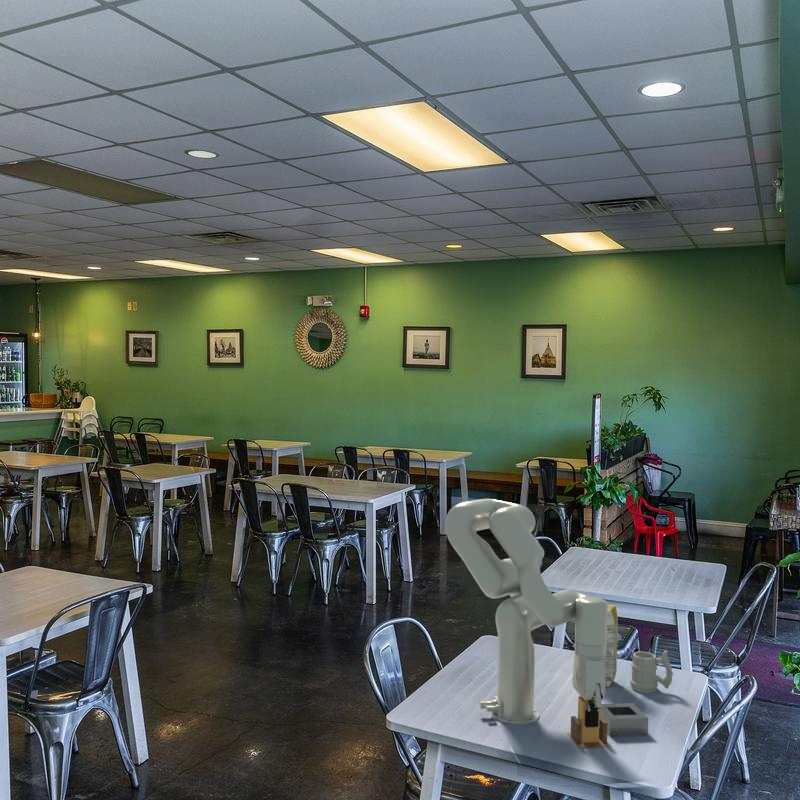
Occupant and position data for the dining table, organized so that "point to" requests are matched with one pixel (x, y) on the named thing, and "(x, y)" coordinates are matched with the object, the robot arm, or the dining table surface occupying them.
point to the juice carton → (611, 645)
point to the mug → (649, 672)
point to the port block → (624, 719)
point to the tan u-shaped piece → (576, 738)
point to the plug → (586, 732)
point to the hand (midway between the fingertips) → (588, 722)
